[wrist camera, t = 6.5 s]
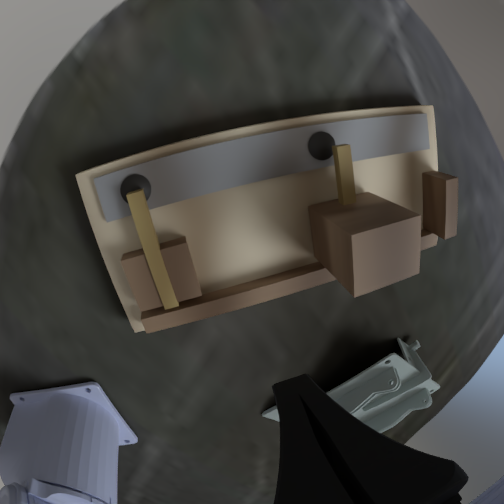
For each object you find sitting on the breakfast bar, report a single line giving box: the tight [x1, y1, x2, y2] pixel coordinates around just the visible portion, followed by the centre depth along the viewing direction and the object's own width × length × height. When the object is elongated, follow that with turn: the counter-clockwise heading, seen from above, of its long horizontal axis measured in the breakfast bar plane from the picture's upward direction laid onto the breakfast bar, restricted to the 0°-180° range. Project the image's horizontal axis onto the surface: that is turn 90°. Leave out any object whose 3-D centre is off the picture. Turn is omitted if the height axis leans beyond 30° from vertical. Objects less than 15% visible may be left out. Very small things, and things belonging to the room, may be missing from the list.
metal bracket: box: [262, 338, 440, 433], centre depth 27 cm, size 14×6×15 cm
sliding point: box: [308, 144, 421, 298], centre depth 16 cm, size 4×6×5 cm, turn 11°
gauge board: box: [75, 105, 458, 333], centre depth 18 cm, size 22×10×4 cm, turn 101°
